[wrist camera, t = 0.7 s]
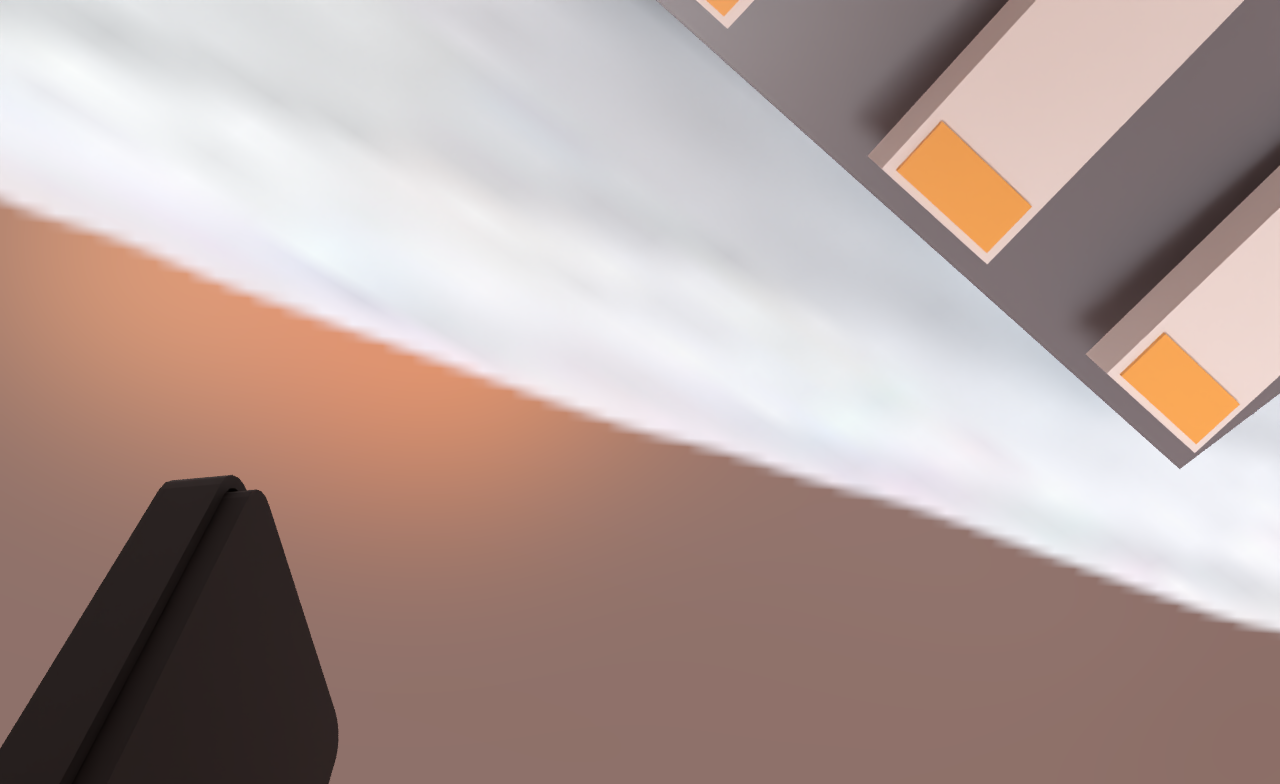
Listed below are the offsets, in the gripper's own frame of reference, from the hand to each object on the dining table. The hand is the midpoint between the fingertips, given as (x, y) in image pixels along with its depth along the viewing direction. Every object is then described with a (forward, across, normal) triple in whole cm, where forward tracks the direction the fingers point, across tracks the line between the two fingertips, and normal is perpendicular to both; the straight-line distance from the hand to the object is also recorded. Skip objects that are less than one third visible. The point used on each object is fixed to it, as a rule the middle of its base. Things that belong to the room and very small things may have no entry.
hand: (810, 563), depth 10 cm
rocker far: (+22, -15, +9) cm, 28 cm away
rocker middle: (+22, -9, +2) cm, 24 cm away
